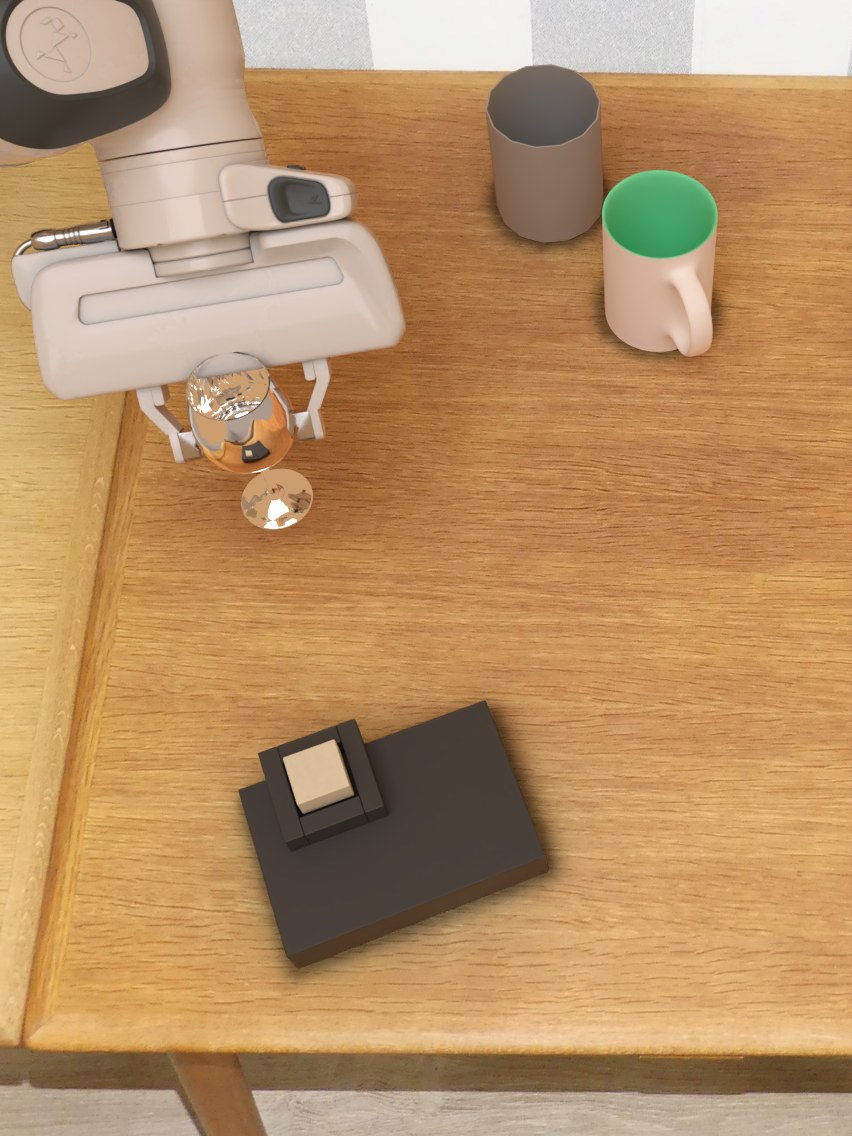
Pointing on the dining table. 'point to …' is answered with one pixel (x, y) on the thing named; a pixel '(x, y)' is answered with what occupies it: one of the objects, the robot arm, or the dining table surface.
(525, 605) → the dining table surface
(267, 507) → the wineglass
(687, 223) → the mug
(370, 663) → the dining table surface
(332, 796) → the square button
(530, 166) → the cup
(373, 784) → the button panel
